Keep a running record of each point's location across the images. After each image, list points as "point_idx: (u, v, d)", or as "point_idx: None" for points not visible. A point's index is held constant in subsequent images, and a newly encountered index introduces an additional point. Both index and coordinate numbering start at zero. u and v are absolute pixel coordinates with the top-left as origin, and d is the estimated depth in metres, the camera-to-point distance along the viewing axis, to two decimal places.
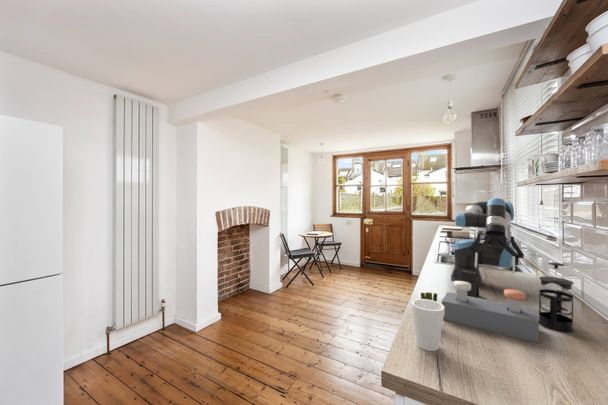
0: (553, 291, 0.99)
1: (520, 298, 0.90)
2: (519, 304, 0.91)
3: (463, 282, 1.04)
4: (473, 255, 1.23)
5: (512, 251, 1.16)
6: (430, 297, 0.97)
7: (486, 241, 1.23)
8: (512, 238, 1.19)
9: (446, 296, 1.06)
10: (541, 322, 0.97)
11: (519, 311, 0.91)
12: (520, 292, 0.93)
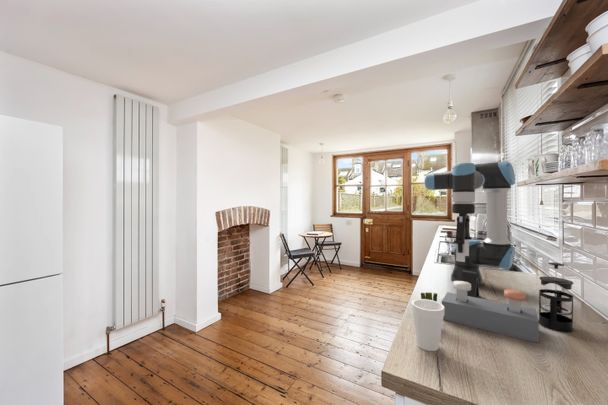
0: (553, 291, 0.99)
1: (520, 298, 0.90)
2: (519, 304, 0.91)
3: (463, 282, 1.04)
4: None
5: None
6: (430, 297, 0.97)
7: None
8: (457, 219, 0.98)
9: (446, 296, 1.06)
10: (541, 322, 0.97)
11: (519, 311, 0.91)
12: (520, 292, 0.93)
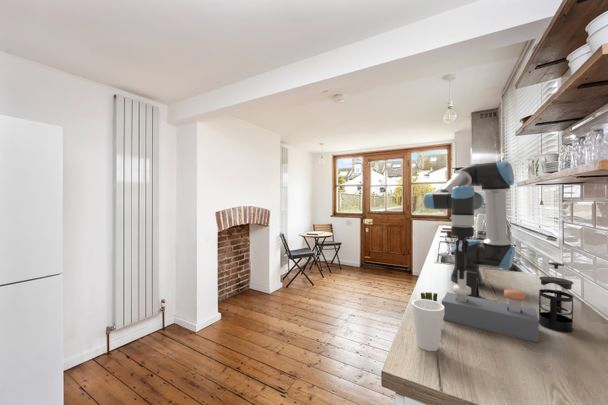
0: (553, 291, 0.99)
1: (520, 298, 0.90)
2: (519, 304, 0.91)
3: None
4: None
5: None
6: (430, 297, 0.97)
7: None
8: None
9: (446, 296, 1.06)
10: (541, 322, 0.97)
11: (519, 311, 0.91)
12: (520, 292, 0.93)
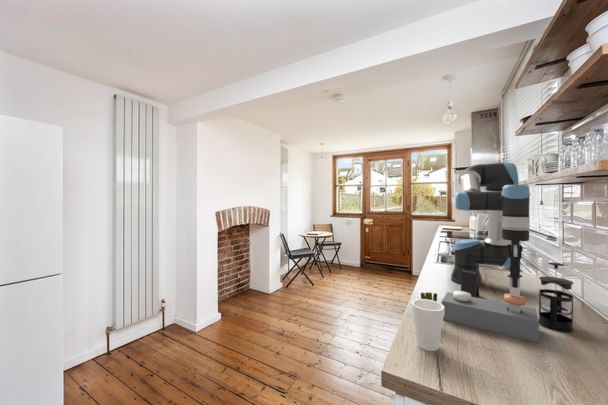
0: (553, 291, 0.99)
1: (520, 303, 0.90)
2: (519, 309, 0.91)
3: (463, 292, 1.04)
4: None
5: None
6: (430, 297, 0.97)
7: None
8: (510, 253, 0.89)
9: (446, 296, 1.06)
10: (541, 322, 0.97)
11: None
12: (520, 296, 0.93)
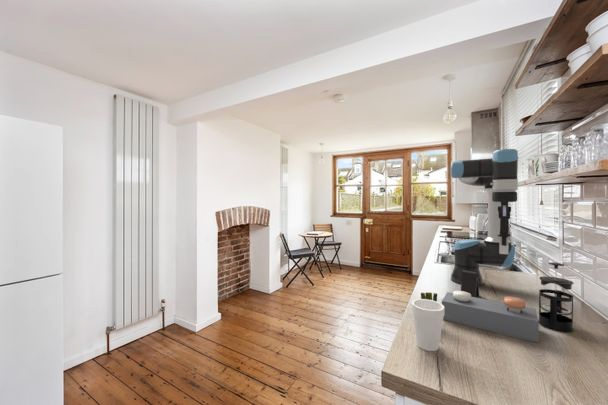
0: (553, 291, 0.99)
1: (520, 306, 0.90)
2: (519, 312, 0.91)
3: (463, 292, 1.04)
4: None
5: None
6: (430, 297, 0.97)
7: None
8: (500, 213, 0.96)
9: (446, 296, 1.06)
10: (541, 322, 0.97)
11: None
12: (520, 300, 0.93)
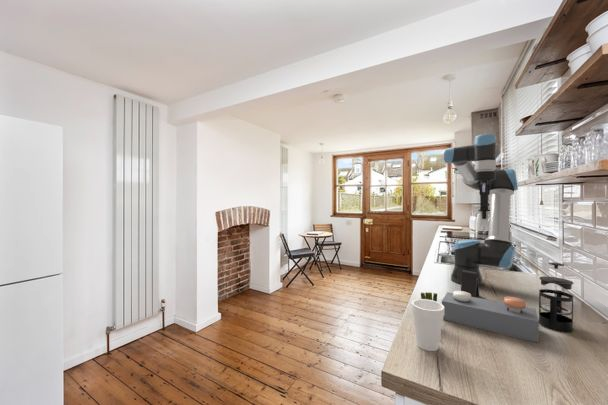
0: (553, 291, 0.99)
1: (520, 306, 0.90)
2: (519, 312, 0.91)
3: (463, 292, 1.04)
4: None
5: None
6: (430, 297, 0.97)
7: None
8: (480, 189, 1.09)
9: (446, 296, 1.06)
10: (541, 322, 0.97)
11: None
12: (520, 300, 0.93)
